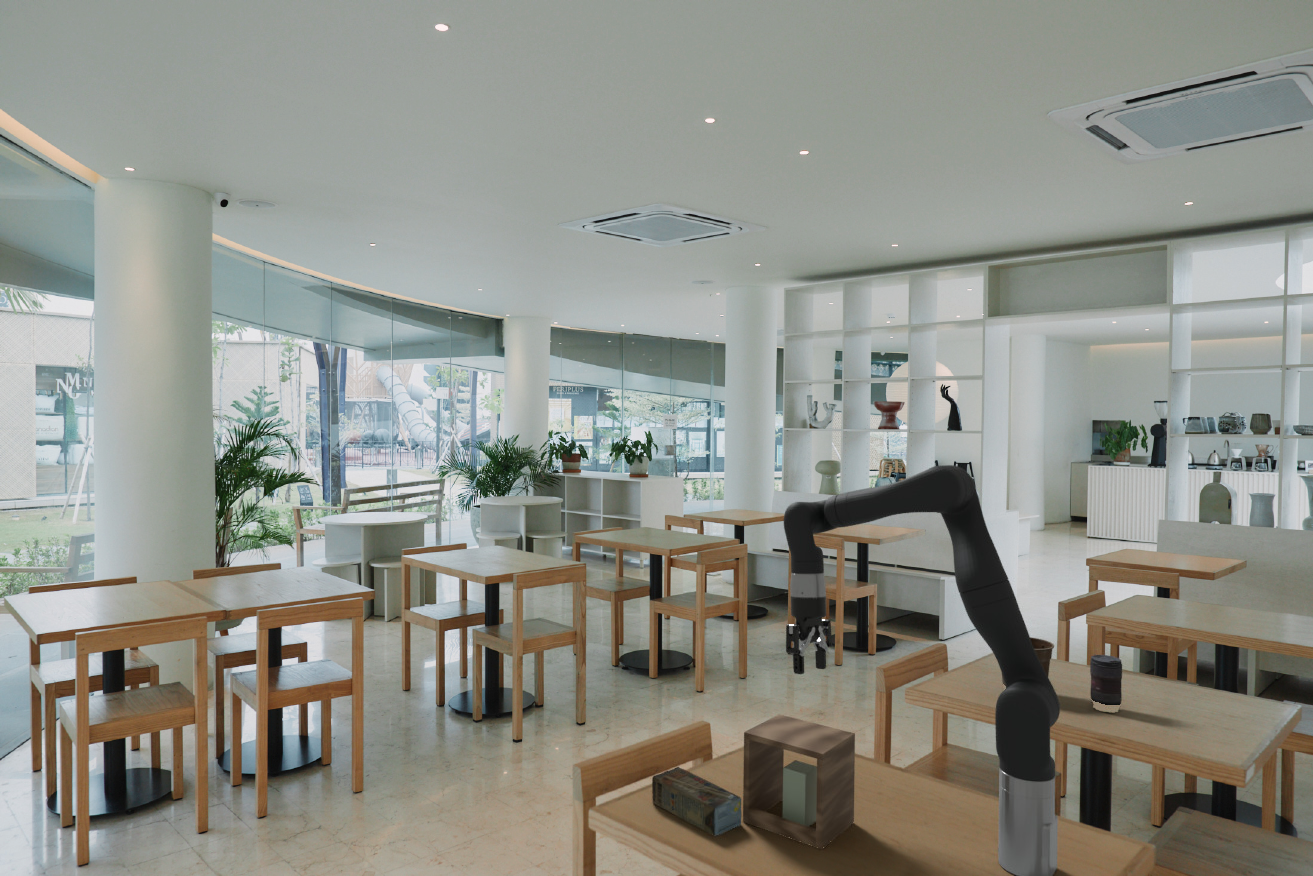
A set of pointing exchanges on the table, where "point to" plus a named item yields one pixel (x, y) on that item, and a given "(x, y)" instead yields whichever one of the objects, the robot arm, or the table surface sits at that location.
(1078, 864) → the table surface
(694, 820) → the beverage carton
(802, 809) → the sage block
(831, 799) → the walnut box
